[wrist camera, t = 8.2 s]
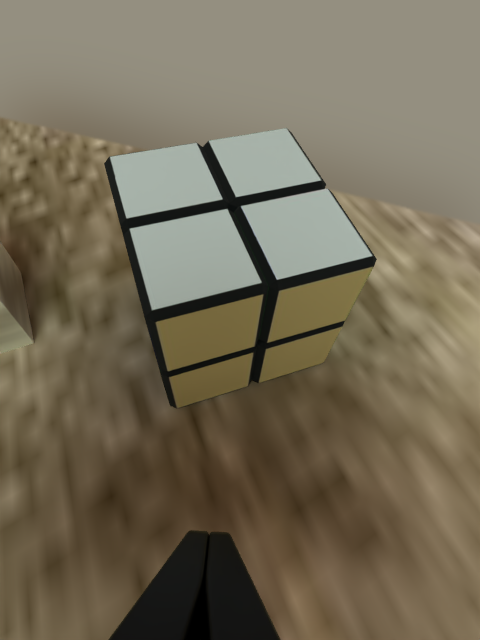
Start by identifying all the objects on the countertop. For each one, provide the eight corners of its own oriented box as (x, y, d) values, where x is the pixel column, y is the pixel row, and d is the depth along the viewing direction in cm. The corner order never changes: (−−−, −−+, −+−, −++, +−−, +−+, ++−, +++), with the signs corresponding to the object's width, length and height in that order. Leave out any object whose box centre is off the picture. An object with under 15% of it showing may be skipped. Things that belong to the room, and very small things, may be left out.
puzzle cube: (136, 280, 28) (101, 153, 19) (268, 249, 30) (289, 123, 21) (171, 412, 23) (145, 320, 14) (327, 363, 25) (384, 259, 17)
